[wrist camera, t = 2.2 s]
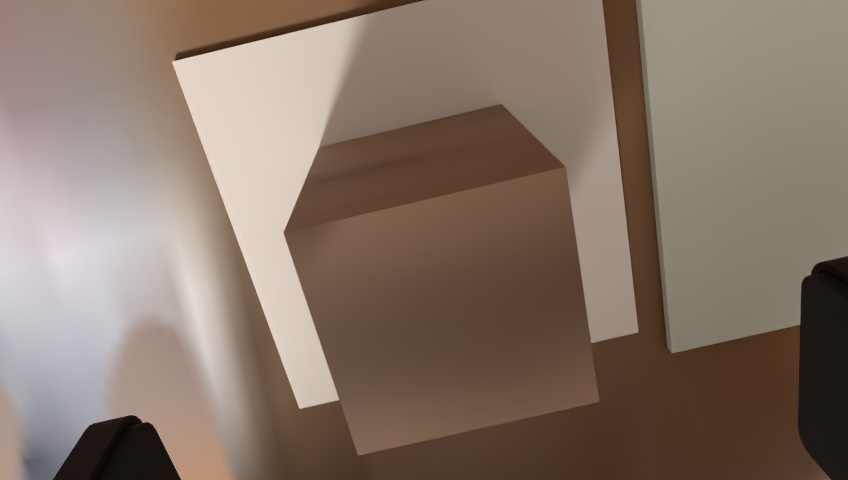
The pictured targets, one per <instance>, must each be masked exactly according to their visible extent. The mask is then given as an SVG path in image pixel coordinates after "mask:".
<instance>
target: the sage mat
mask: <svg viewBox="0 0 848 480" xmlns="http://www.w3.org/2000/svg"><path fill="white" fill-rule="evenodd" d="M636 9H637V20H638V31H639V42H640V54H641V65H642V76H643V87H644V98H645V109H646V120H647V131H648V142H649V153H650V164H651V175H652V186H653V197H654V208H655V219H656V230H657V241H658V252H659V263H660V274H661V285H662V296H663V308H664V319H665V330H666V341H667V348H668V349H669V350H670V352H671V353H676V352H681V351H685V350H690V349H694V348H699V347H703V346H707V345H712V344H716V343H721V342H725V341H730V340H734V339H739V338H743V337H748V336H752V335H757V334H761V333H766V332H770V331H774V330H779V329H783V328H788V327H792V326H797V325H800V315H801V285H802V281H803V279H804V278H805V277H806V276H809V275H811V271H812V269H813V267H814V265H816V264H817V263H819V262H823V261H828V260H832V259H837V258H841V257H846V256H848V0H636Z"/></svg>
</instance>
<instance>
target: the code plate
mask: <svg viewBox="0 0 848 480" xmlns="http://www.w3.org/2000/svg"><path fill="white" fill-rule="evenodd" d="M172 63H173V66H174V69H175V71H176V74H177V77H178V79H179V82H180V85H181V88H182V90H183V93H184V96H185V98H186V101H187V104H188V107H189V109H190V112H191V115H192V118H193V120H194V123H195V126H196V128H197V131H198V134H199V137H200V139H201V142H202V145H203V147H204V150H205V153H206V156H207V158H208V161H209V164H210V167H211V169H212V172H213V175H214V177H215V180H216V183H217V186H218V188H219V191H220V194H221V196H222V199H223V202H224V205H225V207H226V210H227V213H228V216H229V218H230V221H231V224H232V226H233V229H234V232H235V235H236V237H237V240H238V243H239V245H240V248H241V251H242V254H243V256H244V259H245V262H246V265H247V267H248V270H249V273H250V275H251V278H252V281H253V284H254V286H255V289H256V292H257V294H258V297H259V300H260V303H261V305H262V308H263V311H264V314H265V316H266V319H267V322H268V324H269V327H270V330H271V333H272V335H273V338H274V341H275V343H276V346H277V349H278V352H279V354H280V357H281V360H282V363H283V365H284V368H285V371H286V373H287V376H288V379H289V382H290V384H291V387H292V390H293V392H294V395H295V398H296V401H297V403H298V406H299V409H301V408H306V407H310V406H315V405H319V404H323V403H328V402H332V401H337V400H339V397H338V394H337V391H336V388H335V385H334V382H333V379H332V376H331V374H330V371H329V368H328V365H327V362H326V359H325V356H324V353H323V350H322V347H321V344H320V341H319V338H318V335H317V332H316V329H315V326H314V323H313V320H312V317H311V314H310V311H309V308H308V305H307V302H306V299H305V296H304V293H303V290H302V287H301V284H300V281H299V278H298V275H297V272H296V269H295V266H294V263H293V260H292V257H291V254H290V251H289V248H288V245H287V242H286V239H285V236H284V230H285V228H286V225H287V223H288V221H289V218H290V216H291V213H292V211H293V208H294V206H295V204H296V201H297V199H298V196H299V194H300V192H301V189H302V187H303V184H304V182H305V179H306V177H307V175H308V172H309V170H310V167H311V165H312V163H313V160H314V158H315V155H316V153H317V150H318V148H319V147H322V146H327V145H331V144H335V143H339V142H343V141H348V140H352V139H356V138H360V137H364V136H369V135H373V134H377V133H381V132H385V131H390V130H394V129H398V128H402V127H406V126H411V125H415V124H419V123H423V122H428V121H432V120H436V119H440V118H444V117H449V116H453V115H457V114H461V113H465V112H470V111H474V110H478V109H482V108H486V107H491V106H495V105H499V104H502V105H503V106H504V107H505V108H506V109H507V110H508V111H509V112H510V113H511V114H512V115H513V116H514V117H515V118H516V119H517V120H519V121H520V122H521V123H522V124H523V125H524V126H525V127H526V128H527V129H528V130H529V131H530V132H531V133H532V134H533V135H534V136H535V137H536V138H537V139H538V140H539V141H540V142H541V143H542V144H543V145H544V146H545V147H546V148H547V149H548V150H549V151H550V152H551V153H552V154H553V155H554V156H555V157H556V158H557V159H558V160H559V161H560V162H561V163H562V164H563V165H564V166H565V167H566V172H567V179H568V186H569V193H570V200H571V207H572V214H573V220H574V227H575V234H576V241H577V248H578V255H579V262H580V269H581V276H582V283H583V290H584V297H585V304H586V311H587V318H588V325H589V332H590V338H591V343H594V342H598V341H603V340H607V339H612V338H616V337H621V336H625V335H629V334H634V333H638V323H637V313H636V304H635V295H634V286H633V277H632V268H631V259H630V250H629V241H628V231H627V222H626V213H625V204H624V195H623V186H622V177H621V168H620V158H619V149H618V140H617V131H616V122H615V113H614V104H613V95H612V85H611V76H610V67H609V58H608V49H607V40H606V31H605V22H604V12H603V3H602V0H423V1H419V2H415V3H411V4H406V5H402V6H398V7H394V8H390V9H386V10H382V11H378V12H374V13H369V14H365V15H361V16H357V17H353V18H349V19H345V20H341V21H337V22H332V23H328V24H324V25H320V26H316V27H312V28H308V29H304V30H300V31H296V32H291V33H287V34H283V35H279V36H275V37H271V38H267V39H263V40H259V41H254V42H250V43H246V44H242V45H238V46H234V47H230V48H226V49H222V50H217V51H213V52H209V53H205V54H201V55H197V56H193V57H189V58H185V59H180V60H176V61H173V62H172Z"/></svg>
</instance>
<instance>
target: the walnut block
mask: <svg viewBox="0 0 848 480" xmlns="http://www.w3.org/2000/svg"><path fill="white" fill-rule="evenodd" d="M284 236H285V239H286V242H287V245H288V248H289V251H290V254H291V257H292V260H293V263H294V266H295V269H296V272H297V275H298V278H299V281H300V284H301V287H302V290H303V293H304V296H305V299H306V302H307V305H308V308H309V311H310V314H311V317H312V320H313V323H314V326H315V329H316V332H317V335H318V338H319V341H320V344H321V347H322V350H323V353H324V356H325V359H326V362H327V365H328V368H329V371H330V374H331V376H332V379H333V382H334V385H335V388H336V391H337V394H338V397H339V400H340V403H341V406H342V409H343V412H344V415H345V418H346V421H347V424H348V427H349V430H350V433H351V436H352V439H353V442H354V445H355V448H356V451H357V454H358V456H359V455H364V454H368V453H373V452H377V451H382V450H386V449H390V448H395V447H399V446H404V445H408V444H413V443H417V442H422V441H426V440H431V439H435V438H440V437H444V436H449V435H453V434H458V433H462V432H467V431H471V430H476V429H480V428H485V427H489V426H494V425H498V424H503V423H507V422H512V421H516V420H521V419H525V418H530V417H534V416H539V415H543V414H548V413H552V412H557V411H561V410H566V409H570V408H575V407H579V406H584V405H588V404H593V403H597V402H600V401H599V394H598V387H597V380H596V373H595V366H594V359H593V352H592V345H591V338H590V332H589V325H588V318H587V311H586V304H585V297H584V290H583V283H582V276H581V269H580V262H579V255H578V248H577V241H576V234H575V227H574V220H573V214H572V207H571V200H570V193H569V186H568V179H567V172H566V167H565V166H564V165H563V164H562V163H561V162H560V161H559V160H558V159H557V158H556V157H555V156H554V155H553V154H552V153H551V152H550V151H549V150H548V149H547V148H546V147H545V146H544V145H543V144H542V143H541V142H540V141H539V140H538V139H537V138H536V137H535V136H534V135H533V134H532V133H531V132H530V131H529V130H528V129H527V128H526V127H525V126H524V125H523V124H522V123H521V122H520V121H519V120H517V119H516V118H515V117H514V116H513V115H512V114H511V113H510V112H509V111H508V110H507V109H506V108H505V107H504V106H503V105H502V104H499V105H495V106H491V107H486V108H482V109H478V110H474V111H470V112H465V113H461V114H457V115H453V116H449V117H444V118H440V119H436V120H432V121H428V122H423V123H419V124H415V125H411V126H406V127H402V128H398V129H394V130H390V131H385V132H381V133H377V134H373V135H369V136H364V137H360V138H356V139H352V140H348V141H343V142H339V143H335V144H331V145H327V146H322V147H319V148H318V150H317V153H316V155H315V158H314V160H313V163H312V165H311V167H310V170H309V172H308V175H307V177H306V179H305V182H304V184H303V187H302V189H301V192H300V194H299V196H298V199H297V201H296V204H295V206H294V208H293V211H292V213H291V216H290V218H289V221H288V223H287V225H286V228H285V230H284Z"/></svg>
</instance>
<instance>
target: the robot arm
mask: <svg viewBox="0 0 848 480" xmlns="http://www.w3.org/2000/svg"><path fill="white" fill-rule="evenodd" d="M798 430H799V435H800V438H801V441H802V443H803V445H804V447H805V449H806V450H807V452H808V453H809V454H810V456H811V457H812V458H813V459H814V460H815V461H816V463H817V464H818V465H819V466H820V467H821V468H822V469H823V471H824V472H825V473H826V474H827V475H828V476H829V478H830V479H831V480H848V256H846V257H841V258H837V259H832V260H828V261H823V262H819V263H817V264H816V265H814V267H813V269H812V271H811V275H809V276H806V277H805V278H804V279H803V281H802V285H801V315H800V361H799V407H798ZM53 480H181V479H180V477H179V475H178V473H177V471H176V469H175V467H174V465H173V463H172V461H171V459H170V457H169V455H168V453H167V451H166V449H165V447H164V445H163V443H162V441H161V439H160V437H159V435H158V433H157V431H156V429H155V428H154V427H153V425H152V424H150V423H147V422H145V423H142V421H141V420H140V419H139V418H137V417H136V416H132V415H130V416H125V417H121V418H116V419H112V420H107V421H103V422H98V423H94V424H92V425H90V426H89V427H88V428H87V429H86V430H85V431H84V433H83V435H82V436H81V438H80V439H79V441H78V442H77V444H76V445H75V447H74V448H73V450H72V451H71V453H70V454H69V456H68V457H67V459H66V461H65V462H64V464H63V465H62V467H61V468H60V470H59V471H58V473H57V474H56V476H55V477H54V479H53Z"/></svg>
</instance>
